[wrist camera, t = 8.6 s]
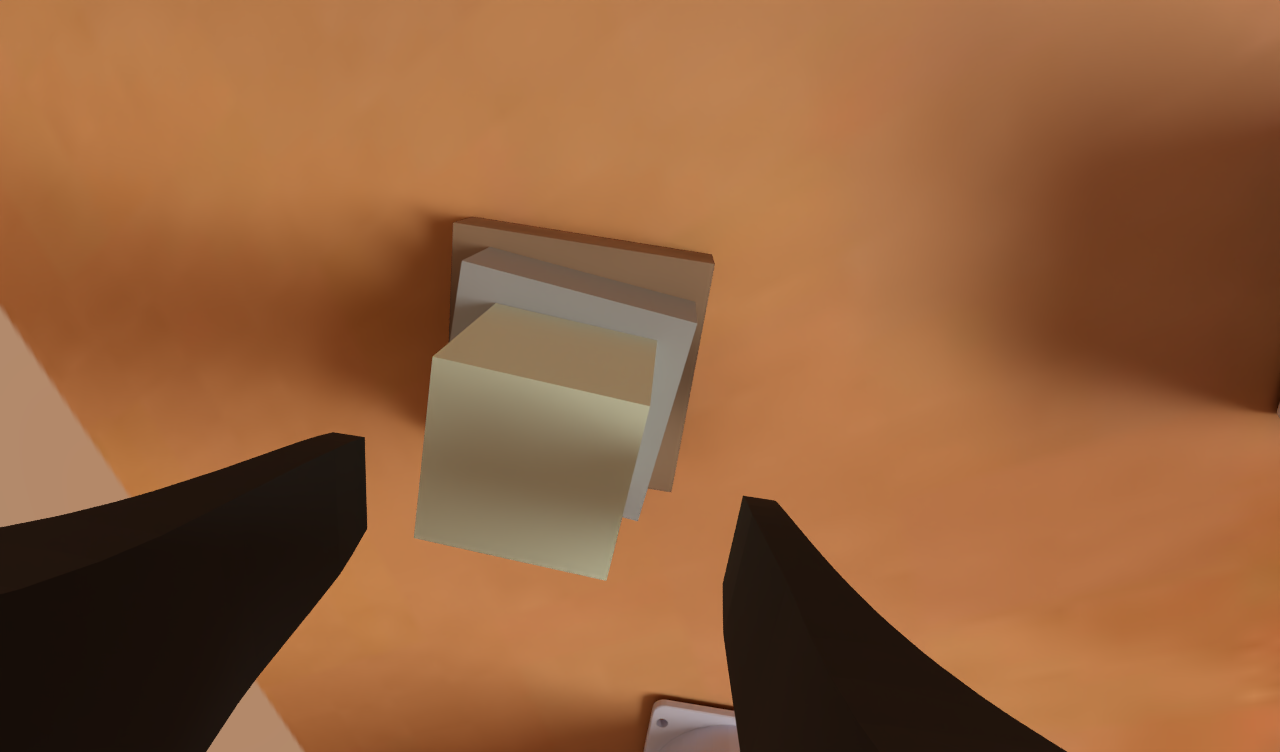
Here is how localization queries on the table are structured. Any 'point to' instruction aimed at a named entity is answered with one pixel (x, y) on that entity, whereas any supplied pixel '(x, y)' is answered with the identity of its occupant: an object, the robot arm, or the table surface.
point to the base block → (613, 261)
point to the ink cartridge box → (1278, 411)
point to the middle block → (592, 304)
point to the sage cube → (533, 439)
